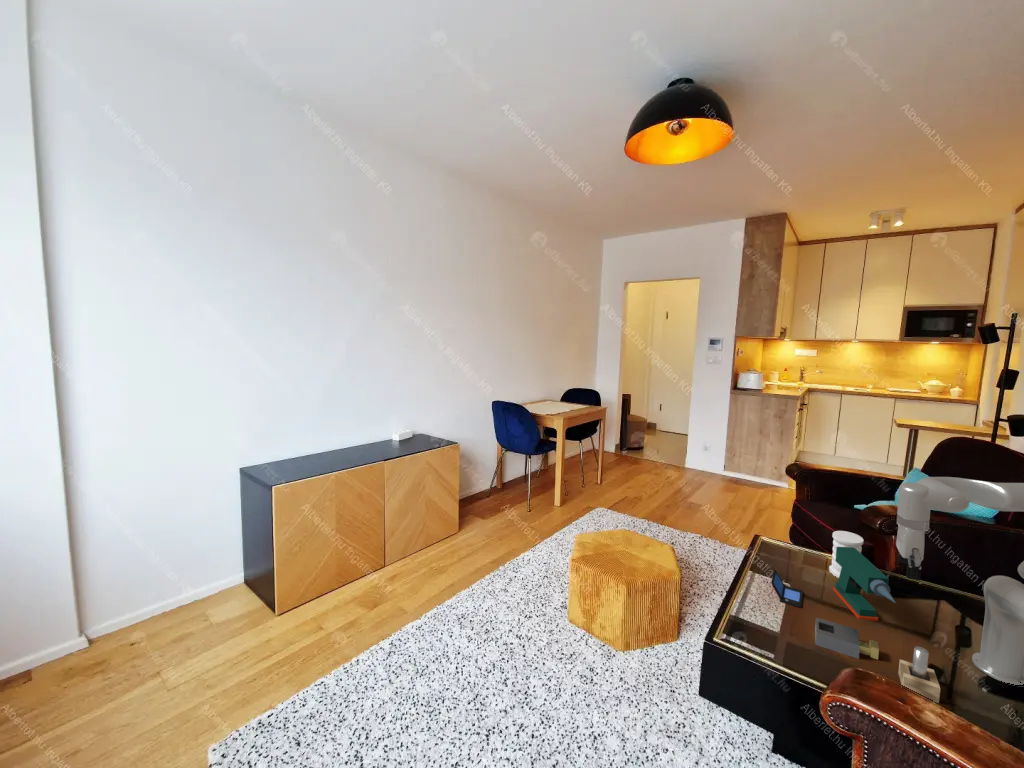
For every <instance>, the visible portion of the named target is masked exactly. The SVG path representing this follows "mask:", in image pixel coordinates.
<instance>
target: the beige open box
mask: <svg viewBox="0 0 1024 768" xmlns="http://www.w3.org/2000/svg"><path fill="white" fill-rule="evenodd" d="M912 665H913V662H910V661H907V660H904V659H899V664H898V677H899V681H900V686H901V685H903V686H905V687H907V688H909V689H911V690H913V691H915V692H917V693H919V694H921V695H923V696H925V697H927V698H929V699H931V700H933V701H932V702H934V703H938V704H940V696H941V687H940V682H939V681H938V680H939V679H938V678H937V675H936V672H935V670H934V669H932V668H929V667H927V673H926V680H924V679H921V678H918V677H915V676H911V675H912ZM931 700H930V701H931Z"/></svg>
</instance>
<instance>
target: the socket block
mask: <svg viewBox="0 0 1024 768" xmlns="http://www.w3.org/2000/svg"><path fill="white" fill-rule="evenodd" d="M814 626H815V627H814V629H815V631H814V632H815V633H814V634H815V635H814V636H815V639H814V640H815V642H814V643H815V646H818V647H821V648H824V649H827V650H831V651H833V652H836V653H839V654H843V655H845V656H849V657H852V658H855V659H857V660H859V659H860V652H859V650H860V644H859V641H860V639H859V631H858V629H857V628H854V627H849V626H847V625H845V624H840V623H838V622H837V623H836V622H832V621H830V620H827V619H823V618H821V617H820V618H819V617H815V625H814Z"/></svg>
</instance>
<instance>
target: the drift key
mask: <svg viewBox="0 0 1024 768" xmlns="http://www.w3.org/2000/svg"><path fill="white" fill-rule="evenodd" d="M859 644H860V650H859V654H862V655H866V656H869V658H872V659H875V660H879V655H880V654H879V652H880V651H879V650H880V648H879V643H878V641H877V640H873V639H869V642H868V643H867V642H864V641H860V640H859Z"/></svg>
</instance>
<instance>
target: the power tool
mask: <svg viewBox="0 0 1024 768" xmlns="http://www.w3.org/2000/svg"><path fill="white" fill-rule="evenodd" d="M836 562H837V563H838V564H839V565H840V566H841V567H842V568H841V572H840V576H839V578H838V580H837V582H835V585H834V586H832V591H834V592H835V594H836V595H837V596H838V597H839V598H840V599H841V600H842V602H843V603H844V604H845V605H846V606H847V608H848V609H849V610H850V611H851V612H852V613H853V614H854V616H855V617H856V618H857V620H863V621H865V620H866V621H875V622H878V621H879V617H878V616H877V610H876V609H875V607H874V606H872V605H871V603H869V601H867V599H866V598H865V597H864V596H863V595H862V594H861V592H862V590H863V591H864V592H865V593H866V594H871V595H872V594H873V595H876V596H879V597H885V598H886V599H888V600H889V601H891V602H893V603H895V604H896V601H895V599H894V598H893V596H892V594H891V593H890V592H891V588H890V586H889V582H890V581H889V580H890V578H889V577H888V576H887V575H885V573H883V572H882V570H880V569H879V568H878V567H877V566H875V564H873V563H872V562H871V561H870V560H869V559H868V558H867V557H865V556H864V555H863V554H862V552H861V553H860V552H859V551H857V550H856V549H855V548H853V547H836Z"/></svg>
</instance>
